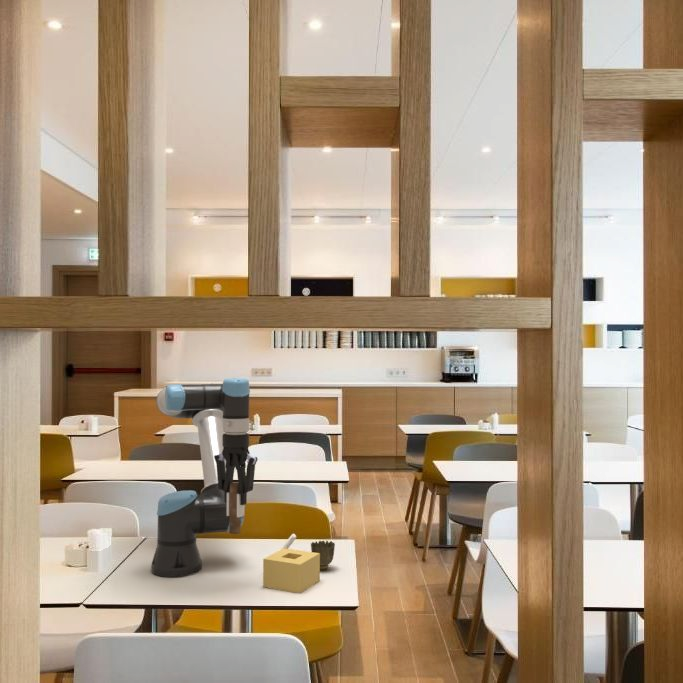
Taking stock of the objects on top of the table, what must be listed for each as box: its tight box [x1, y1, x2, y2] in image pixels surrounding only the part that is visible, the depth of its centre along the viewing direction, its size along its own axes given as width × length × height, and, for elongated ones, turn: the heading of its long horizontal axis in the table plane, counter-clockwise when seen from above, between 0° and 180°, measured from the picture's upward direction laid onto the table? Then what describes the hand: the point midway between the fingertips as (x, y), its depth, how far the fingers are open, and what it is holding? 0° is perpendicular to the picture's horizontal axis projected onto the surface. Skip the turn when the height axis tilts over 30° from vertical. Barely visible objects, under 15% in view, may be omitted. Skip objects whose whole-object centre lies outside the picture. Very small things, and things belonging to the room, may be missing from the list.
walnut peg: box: [229, 481, 242, 535], centre depth 206 cm, size 3×3×14 cm
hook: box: [280, 533, 297, 550], centre depth 227 cm, size 8×12×7 cm
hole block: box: [262, 548, 321, 594], centre depth 210 cm, size 12×12×8 cm
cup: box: [310, 540, 336, 571], centre depth 223 cm, size 8×7×8 cm
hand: (235, 515), depth 206 cm, fingers closed on walnut peg, 3 cm apart
